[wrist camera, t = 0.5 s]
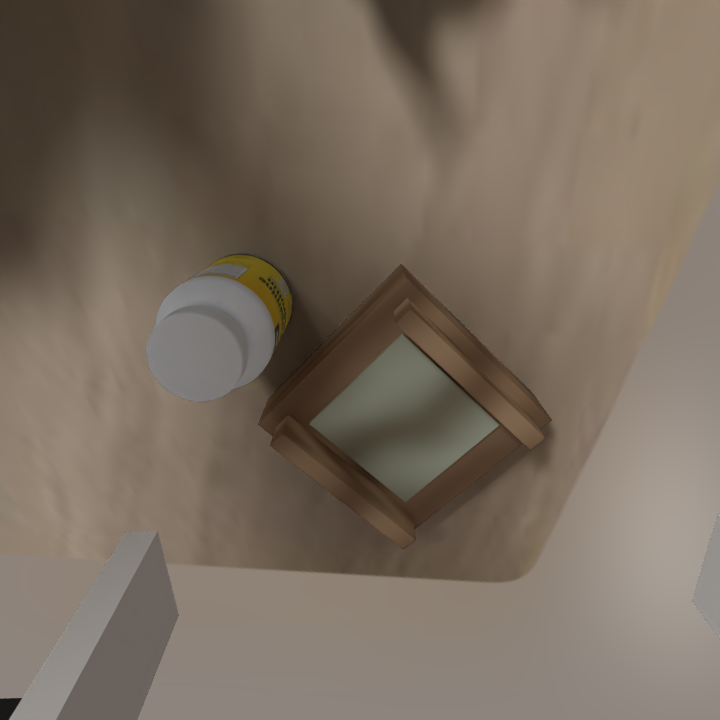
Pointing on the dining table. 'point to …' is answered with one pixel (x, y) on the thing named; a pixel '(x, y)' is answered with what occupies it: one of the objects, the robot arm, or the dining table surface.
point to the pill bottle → (219, 327)
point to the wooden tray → (401, 410)
